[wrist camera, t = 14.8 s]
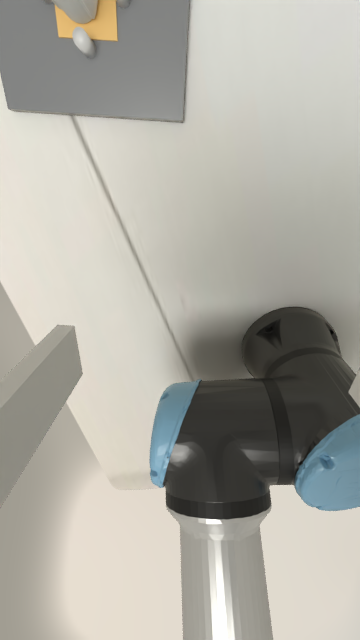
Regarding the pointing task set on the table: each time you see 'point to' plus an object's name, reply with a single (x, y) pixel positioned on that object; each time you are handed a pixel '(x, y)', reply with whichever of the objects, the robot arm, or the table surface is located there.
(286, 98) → the table surface
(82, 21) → the photo printer
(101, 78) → the pin tray
